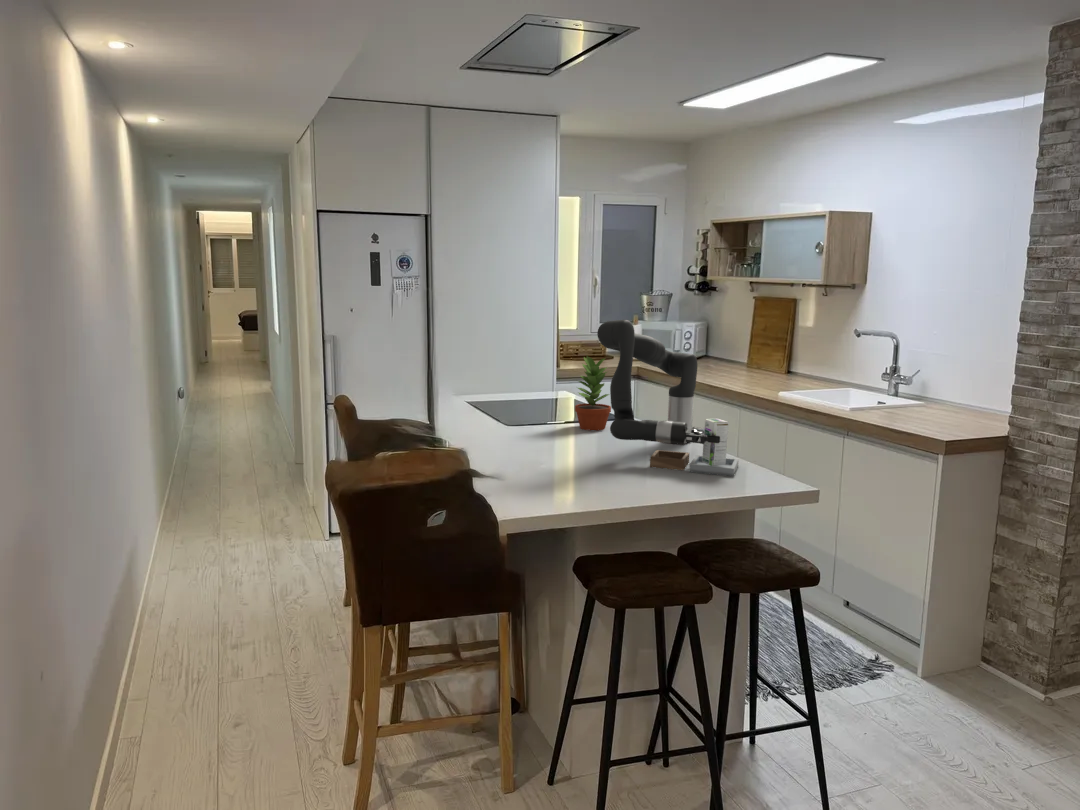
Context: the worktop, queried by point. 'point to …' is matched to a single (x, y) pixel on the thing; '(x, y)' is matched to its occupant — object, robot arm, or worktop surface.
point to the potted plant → (592, 398)
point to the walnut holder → (669, 459)
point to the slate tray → (714, 467)
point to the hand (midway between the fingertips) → (721, 437)
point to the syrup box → (715, 451)
